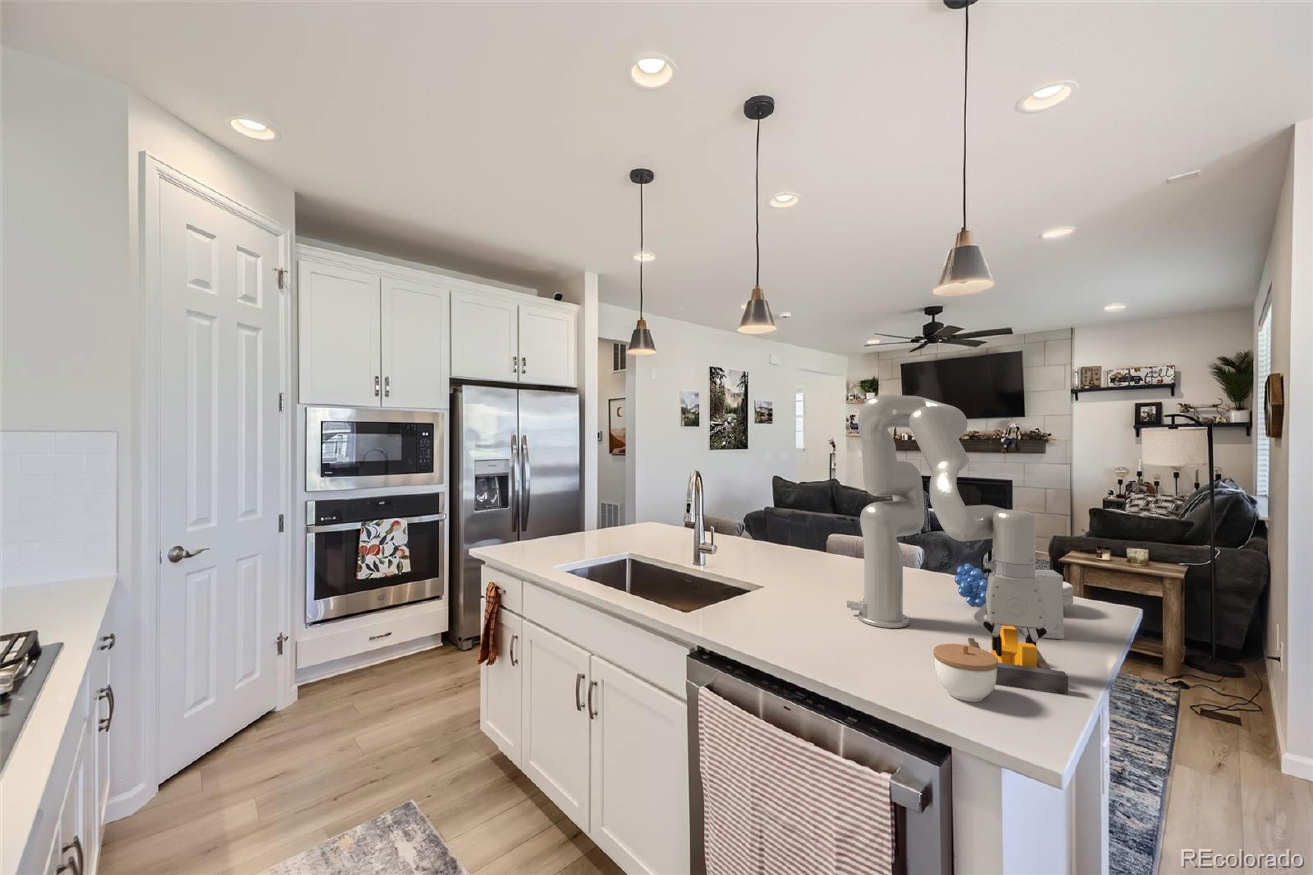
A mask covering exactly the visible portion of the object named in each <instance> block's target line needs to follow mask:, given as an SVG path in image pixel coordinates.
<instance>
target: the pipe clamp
mask: <svg viewBox="0 0 1313 875" xmlns="http://www.w3.org/2000/svg"><path fill="white" fill-rule="evenodd" d="M1017 631H1018V629H1017V628H1016V626H1007V625H1002V627H1001V630H1000V636H1001V638H1002V656H1001V657H1000V656H997V654H996V652H995V650H993V649H992V638H991V640H990V642H991V643H990V649H991V650H990V651H991V652H990V653H991V654H993V655H994V656H995V657H996V658H997V659H998V663H1006V664H1013V665H1020V666H1028V667H1035V668H1038V664H1037V652H1038V647H1037V645H1036V646H1035V645H1034V644H1029V643H1026V642H1025V643H1024V642H1019V640H1018V632H1017Z"/></svg>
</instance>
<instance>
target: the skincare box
mask: <svg viewBox="0 0 1313 875" xmlns="http://www.w3.org/2000/svg"><path fill="white" fill-rule="evenodd" d="M1035 577H1038V578H1039V579H1040V581H1041V585H1042V590H1043V598H1044V609H1045V613H1046V614H1047V615H1048V616H1049V618H1050V619H1051V620H1052V621H1053V622H1054V623H1055V625H1056V628H1055V629H1053V630H1051V631H1049V632H1047V633H1046V634H1045V635H1044V636H1042V637H1041V638H1043V639H1044V638H1045V639H1054V640H1055V639H1056V640H1064V639H1065V628H1064V621H1065V620H1064V609H1063V581H1064V576H1063V575H1062V574H1060V573H1059V572H1057V571H1055V570H1054V569H1037V568H1035ZM1018 629H1019V630H1020V631H1021V632H1022V634H1023V635H1024V636H1026V637H1027V636H1028V631H1027V628H1025V627H1018ZM1035 629H1036V628H1035ZM1041 638H1040V639H1041Z"/></svg>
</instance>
